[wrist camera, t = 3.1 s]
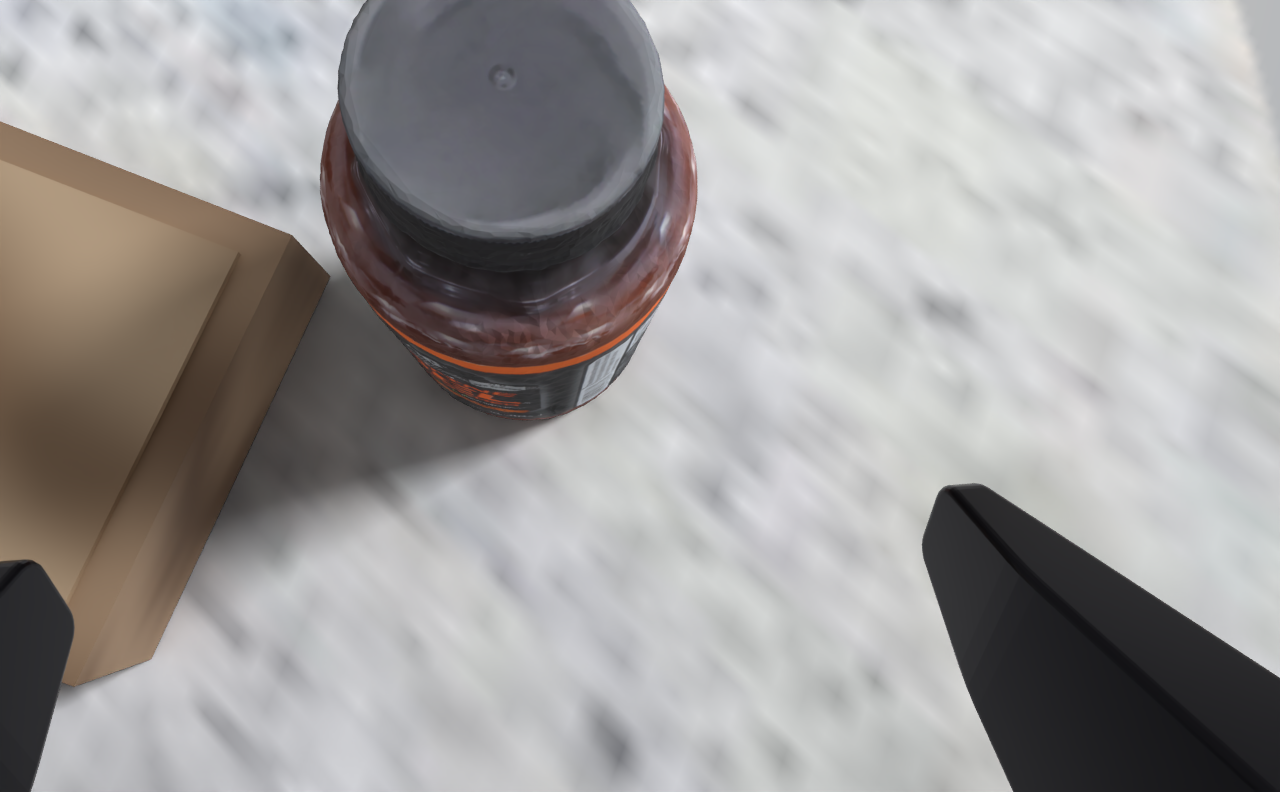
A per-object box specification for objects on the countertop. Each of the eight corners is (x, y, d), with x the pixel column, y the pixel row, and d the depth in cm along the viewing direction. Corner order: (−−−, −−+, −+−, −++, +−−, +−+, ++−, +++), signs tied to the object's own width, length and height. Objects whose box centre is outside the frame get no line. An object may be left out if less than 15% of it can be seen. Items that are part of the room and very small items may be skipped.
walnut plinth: (151, 659, 18) (69, 688, 15) (-272, 507, 18) (-445, 505, 15) (330, 276, 20) (289, 232, 17) (-50, 129, 20) (-162, 56, 17)
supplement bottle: (365, 352, 20) (129, 146, 9) (488, 164, 21) (414, -230, 10) (570, 468, 20) (591, 410, 9) (681, 275, 21) (822, 10, 10)
